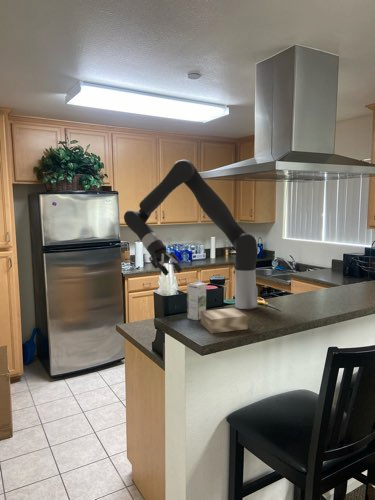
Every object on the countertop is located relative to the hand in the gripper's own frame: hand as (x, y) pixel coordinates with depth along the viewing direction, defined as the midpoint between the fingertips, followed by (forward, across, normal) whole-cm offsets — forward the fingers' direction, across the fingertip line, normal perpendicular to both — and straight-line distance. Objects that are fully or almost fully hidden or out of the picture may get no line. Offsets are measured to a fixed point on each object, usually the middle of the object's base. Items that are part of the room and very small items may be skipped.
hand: (174, 272), depth 154 cm
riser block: (+31, -3, -6) cm, 32 cm away
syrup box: (+21, 0, +4) cm, 21 cm away
